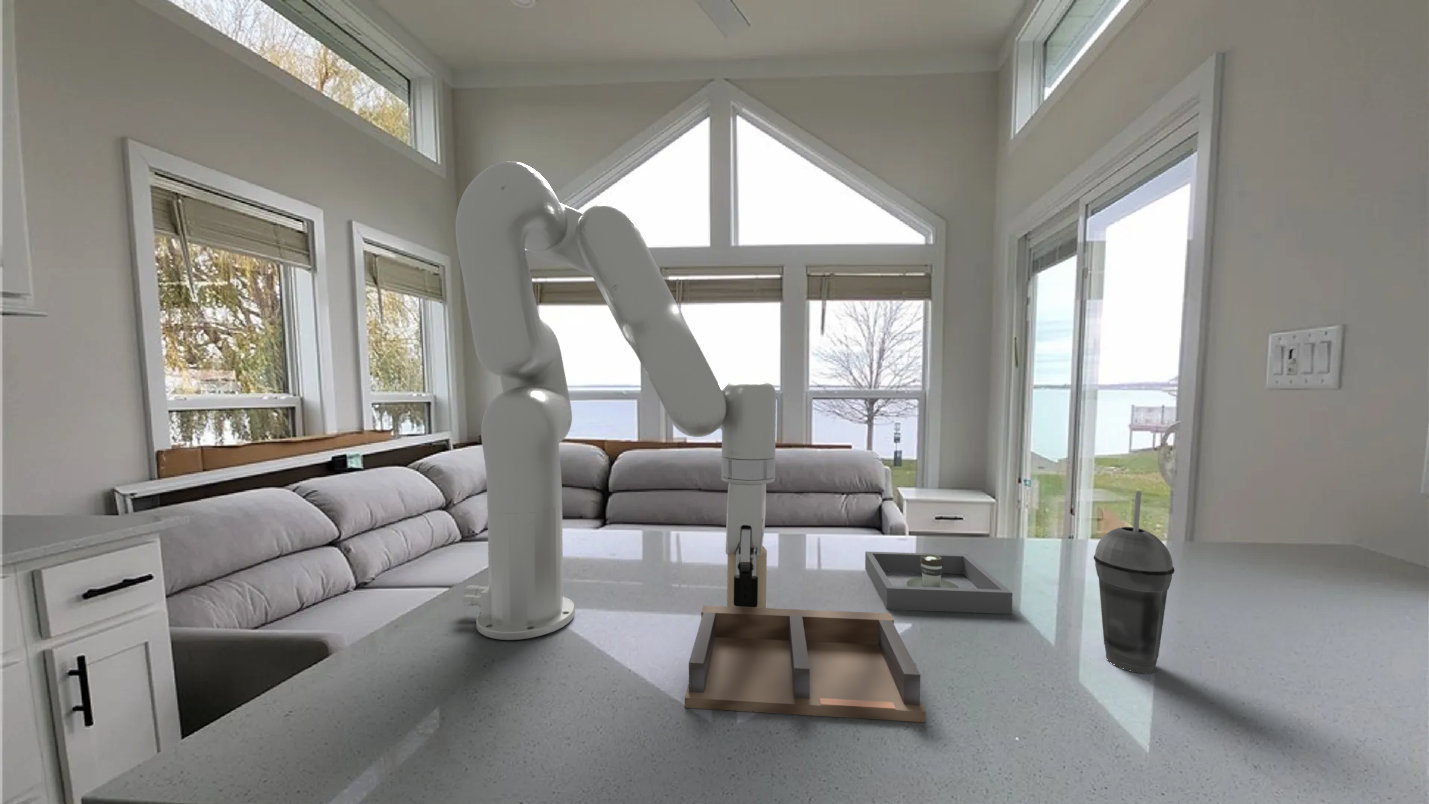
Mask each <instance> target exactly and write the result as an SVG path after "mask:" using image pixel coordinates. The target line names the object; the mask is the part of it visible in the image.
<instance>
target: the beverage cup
mask: <svg viewBox="0 0 1429 804" xmlns="http://www.w3.org/2000/svg"><path fill="white" fill-rule="evenodd" d="M1141 501H1142V491H1139V490H1138V491H1137V490H1135V499H1134V510H1133V511H1134V513H1133V514H1134V515H1133V527H1132V526H1122V527H1117V528H1114V529H1111V530H1110V531H1108V532H1107V533H1106V534H1105V535H1103V536H1102V537H1101V538H1100V540H1099V541H1098V543H1097V545H1096V548H1095V552H1094V555H1093V560H1094V566H1095V571H1096V576H1097V578H1098V585H1099V586H1098V587H1099V598H1100V608H1101V609H1100V610H1101V611H1100V612H1101V622H1102V634H1103V635H1102V637H1103V645H1104V648H1105V649H1104V650H1105V651H1104V652H1105V659H1106V658H1107V659H1108V660H1107V659H1106V660H1107V662H1109V661H1110V662H1111V663H1112V664H1111V663H1110V662H1109V663H1110V664H1111V665H1113V664H1115V665H1114V666H1115V667H1117V666H1118V667H1117V668H1119V667H1121V668H1124V669H1126V670H1125V671H1127V670H1131V671H1133V672H1132V673H1135V672H1137V673H1136V674H1143V673H1149V674H1153V673H1155V672H1156V670H1157V663H1158V658H1159V654H1160V648H1161V640H1162V634H1163V625H1164V618H1165V612H1166V604H1167V597H1168V596H1167V595H1168V590H1169V588H1170V587H1171V582H1172V579H1173V574H1174V573H1175V567H1174V564H1173V563H1174V562H1173V559H1172V555H1171V553H1170V551H1169V549H1168V548H1167V546H1166V545H1165V544H1164V543H1163V541H1162V540H1161V539H1160V538H1159V537H1157V536H1156V535H1154V534H1153V533H1151V532H1150V531H1148V530H1145V529H1143V528H1139V527H1140V517H1141V503H1142V502H1141ZM1121 668H1120V669H1121ZM1124 669H1123V670H1124ZM1131 671H1130V672H1131Z"/></svg>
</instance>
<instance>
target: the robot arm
mask: <svg viewBox="0 0 1429 804" xmlns="http://www.w3.org/2000/svg"><path fill="white" fill-rule="evenodd" d="M455 217H456V218H455V241H456V247H457V249H456V250H457V253H458V254H457V255H458V259H459V264H460V269H461V274H462V280H463V286H464V293H465V294H464V295H465V299H466V305H467V310H468V311H467V312H468V317H469V322H470V326H471V333H472V339H473V346H474V350H475V354H476V357H477V358H478V361H479V363H480V364H481V366H482V367H483V368H484V369H485V370H487V371H488V372H489V373H491V374H492V375H496V376H498V377H499V378H500V382H501V386H502V387H501V389H502V392H501V393H499V394H498V395H496V396H495V397H494V398H493V399H492V401H491V402H490V403H489V404H488V405H487V407H486V409H485V412H484V414H483V417H482V421H481V426H480V429H481V430H480V435H481V437H480V438H481V445H482V452H483V459H484V467H485V472H486V473H485V475H486V502H487V503H486V506H487V551H488V552H487V556H488V557H487V558H488V559H487V560H488V561H487V562H488V563H487V564H488V566H487V567H488V585H487V586H481V585H473V584H472V585H471V584H470V585H467V586H466V587H465V588H464V591H463V598H462V605H463V606H465V607H466V606H467V607H469V606H470V607H471V606H472V607H473V606H478V607H479V608H480V612H479V613H478V615H477V616H476V623H475V625H476V626H475V627H476V630H477V631H478V632H479V633H480V634H481V635H483V636H484V637H487V638H491V639H495V640H502V641H505V640H506V641H515V640H519V641H520V640H527V639H533V638H538V637H541V636H544V635H549V634H551V633H554V632H556V631H559V630H560V629H561V628H564V627H565V626H566V625H568V624H569V623H570V622H571V621H573V619H574V617H575V614H576V613H575V611H576V610H575V609H576V608H575V603H574V602H573V601H572V599H569V598H568V597H566V596H564V569H563V568H564V564H563V563H564V561H563V560H564V559H563V557H564V556H563V555H564V554H563V553H564V552H563V551H564V550H563V545H564V543H563V487H562V486H563V484H562V483H563V482H562V480H563V479H562V468H561V465H562V464H561V456H560V455H561V454H560V443H561V442H562V441H564V439H565V438H566V437H567V435H568V434H569V432H570V429H571V427H572V421H573V413H572V406H571V400H570V394H569V389H568V383H567V378H566V372H565V369H564V362H563V356H562V351H561V348H560V343H559V341H558V338H557V336H556V333H555V332H554V330H553V329H552V328H551V326H549V325H548V323H546V322H545V321H543V319H541V317H540V315H539V310H538V308H537V302H536V298H535V293H534V286H533V280H532V279H533V278H532V275H531V271H530V267H529V263H528V259H527V255H526V250H528V251H529V252H531V253H533V254H535V255H538V256H541V257H543V258H546V259H548V260H551V261H553V262H555V263H559V264H562V265H565V266H567V267H569V268H572V269H575V270H577V271H579V272H583V273H586V274H588V275H591V276H592V278H593V280H594V282H595V284H596V286H597V287H598V289H599V292H600V293H601V295H602V297H603V299H604V301H605V302H606V304H607V306H608V308H609V310H610V313H611V315H612V316H613V318H614V320H615V323H616V324H617V326H618V328H619V330H620V332H621V335H622V336H623V338H624V339H625V341H626V343H628V345H629V346H630V347H631V349H632V350H633V352H634V353H635V355H636V356H637V358H638V360H639V362H640V364H641V366H642V368H643V369H644V371H645V374H646V375H647V377H648V379H649V381H650V383H651V384H652V387H653V388H654V390H655V392H656V394H657V396H658V398H659V400H660V402H661V405H662V406H663V408H664V410H665V412H666V414H667V415H668V418H669V420H670V421H671V423H672V425H673V426H674V427H675V428H676V430H678V432H680V433H682V434H683V435H685V436H688V437H691V438H692V437H693V438H703V437H707V436H709V435H711V434H714V432H716V431H717V430H721V481H723V482H724V483H725V482H726V483H728V484H727V485H728V487H727V498H726V499H727V500H726V527H725V528H726V529H725V531H726V533H725V534H726V535H725V536H726V537H725V554H726V555H727V557H728V556H730V555H731V554H734V553H735V550H736V576H734V605H735V606H738V607H757V603H758V577H756V558H757V557H758V556H759V555H761V551H762V546H763V543H764V535H765V527H766V509H767V508H766V504H767V484H772V483H774V482H775V481H776V435H777V433H776V425H777V424H776V423H777V422H776V421H777V391H776V389H775V386H774V385H773V384H772V383H769V382H765V381H764V382H763V381H732V382H729V383H720V382H718V379H717V378H716V376H715V374H714V372H713V370H712V368H711V366H710V364H709V363H708V360H707V359H706V357H705V354H704V353H703V351H702V350H701V347H700V345H699V344H698V342H697V340H696V338H695V337H694V334H693V332H692V331H691V329H690V327H689V325H688V323H687V321H686V320H685V317H684V315H683V312H682V311H681V309H680V306H679V305H678V304H677V302H676V299H675V298H674V296H673V294H672V292H671V291H670V288H669V286H668V284H667V282H666V280H665V279H664V276H663V275H662V273H661V270H660V268H659V267H658V265H657V263H656V261H655V259H654V257H653V254H652V253H651V251H650V249H649V247H648V245H647V243H646V241H645V240H644V238H643V236H642V234H641V232H640V229H639V228H638V226H637V223H635V221H634V219H633V218H632V217H631V215H630V214H629V213H628V212H627V211H626V210H625V209H623V208H621V206H618V205H615V204H612V203H600V204H599V203H598V204H596V205H593V206H591V207H589V208H588V209H586V210H585V211H584V212H582V211H580V210H577V209H575V208H572V207H570V206H568V205H565V204H563V203H560V200H559V199H558V196H557V195H556V193H555V191H554V190H553V189H552V187H551V185H550V184H549V182H548V181H547V180H546V179H545V177H544V176H543V175H542V174H541V173H540V172H538V171H536V169H534V168H532V167H531V166H529V165H527V164H525V163H522V162H518V161H511V160H508V161H507V160H506V161H500V162H497V163H495V164H492V165H489V166H487V168H485V169H484V170H482V171H481V172H479V173H478V174H477V175H476V176H475V177H474V178H473V179H472V181H470V183H469V184H468V185H467V187H466V188H465V190H464V192H463V194H462V196H461V198H460V201H459V203H458V207H457V211H456V216H455ZM753 544H754V547H753ZM739 549H741V554H739ZM750 550H754V554H750ZM756 554H757V556H756ZM750 559H752V562H750Z"/></svg>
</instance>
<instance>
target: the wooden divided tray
mask: <svg viewBox="0 0 1429 804" xmlns="http://www.w3.org/2000/svg"><path fill="white" fill-rule="evenodd" d="M700 613H701V614H700V616H701V617H700V618H701V619H700V623H699V626H698V630H697V633H696V636H695V640H694V644H693V647H692V650H691V654H690V658H689V660H688V685H687V689H686V692H685V696H684V709H685V708H687V709H702V710H717V711H718V710H719V711H732V712H733V711H734V712H735V711H736V712H749V713H753V712H752V711H755V712H754V713H765V714H766V713H769V714H785V715H797V716H798V715H800V716H814V717H815V716H817V717H819V716H820V717H830V718H831V717H833V718H848V719H850V718H852V719H867V720H880V721H881V720H883V721H898V722H899V721H901V722H914V723H915V722H917V723H926V720H927V718H926V715H927V714H926V713H927V712H926V710H925V707H924V705H923V703H922V701H921V674H920V671H919V669H918V668H917V665H916V663H915V662H914V659H913V658H912V656H911V655H910V652H909V651H908V648H907V647H906V645H905V643H904V642H903V640H902V638H901V635H900V634H899V631H898V630H897V628H896V625H895V620H894V618H893V616H892V613H890V612H870V611H869V612H866V611H865V612H864V611H844V610H840V611H839V610H821V609H820V610H817V609H795V608H793V609H792V608H790V609H789V608H774V607H773V608H767V607H766V608H749V607H727V606H725V605H723V606H721V605H720V606H719V605H718V606H717V605H702V609H701V611H700Z"/></svg>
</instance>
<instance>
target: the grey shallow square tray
mask: <svg viewBox="0 0 1429 804" xmlns="http://www.w3.org/2000/svg"><path fill="white" fill-rule="evenodd" d="M923 554H933V555H937V556H940V557H941V558H942V560H943V564H944V566H942V574H958V575H959V574H960V575H961V574H963V576H965V578H967V579H968V581H970V582H971V583H972V584H973V585H974V586H975V587H976V588H966V587H965V588H964V587H963V588H962V587H959V588H938V587H911V586H907V585H905V586H903V585H893V584H892V583H891V581H890V580H889V578H888V577H887V574H886V572H896V573H897V572H898V573H901V572H903V573H922V572H921V563H920V557H921V555H923ZM864 558H865V560H864V561H865V563H864V565H865V568H864V569H865V571H866V573H867V575H868V576H869V579H870V581H871V582H872V584H873V586H874V588H875V590H876V592H877V593H878V596H879V597H880V599H881V601H882V602H883V605H884V606H885V608H886V610H902V611H903V610H905V611H927V612H928V611H930V612H947V613H948V612H949V613H950V612H951V613H952V612H953V613H978V614H999V615H1000V614H1001V615H1002V614H1003V615H1005V614H1006V615H1013V592H1012V591H1011V590H1010V589H1008V588H1007V586H1005V585H1004V584H1002V582H1000V581H999V579H996V577H995V576H993V575H992V574H990V572H988V571H987V569H985V568H983V566H981V565H980V564H979V563H978V562H977V561H976V560H974V559H973V558H972V557H971V556H969V555H968V554H961V553H960V554H959V553H958V554H957V553H954V554H953V553H933V552H932V553H927V552H926V553H922V552H897V551H896V552H895V551H894V552H892V551H891V552H890V551H865V557H864Z"/></svg>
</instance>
